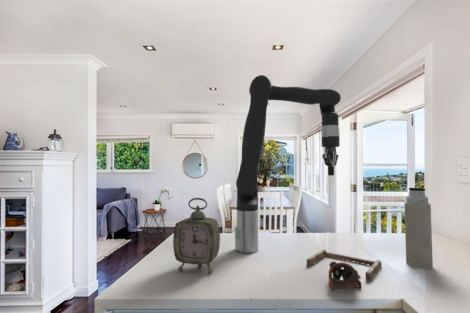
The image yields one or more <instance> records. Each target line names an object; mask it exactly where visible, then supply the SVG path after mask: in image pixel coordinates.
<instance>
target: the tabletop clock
mask: <svg viewBox="0 0 470 313" xmlns="http://www.w3.org/2000/svg"><path fill="white" fill-rule="evenodd" d="M196 200H197V201H199V200H200V201H203V203H205V206H203V207H200V206H199V205H196V207H193V206H191V205H190V204H191V202H193V201H196ZM188 207H189V208H190V209H191V210H193V211H192V212H191V214H190V215H189V217H187V218H184V219H183V220H180V221H178V222H176V223H175V226H174V229H173V241H172V242H173V243H172V244H173V254H174V258H175V260H176V261H177V262H179V263H181V265H180V266H179V267H178V268H177V270H178V271H179V272H182V271H183V269H184V266H185V264H188V265H197V268H198V269H201V268H203V265H206V266H207V268H208V269H207V273H208V274H209V275H211V274H213V269H212V268H211V265H210V264H211V262H213V260H214V259H215V258H217V257H218V254H219V252H220V243H221V232H220V225H219V222H218V220H217V219H214V218H212V217H206V215H205V213H204V212H203V211H202V210H205V209H206V208H207V207H208V202H207V200H206V199H204V198H202V197H193V198H191V199H189V201H188ZM194 210H195V211H194Z"/></svg>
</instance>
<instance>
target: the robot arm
mask: <svg viewBox="0 0 470 313" xmlns="http://www.w3.org/2000/svg"><path fill="white" fill-rule="evenodd" d="M271 82H272V81H271V80H270V79H269V77H268V76H266V75H265V74H264V75H263V74H260V75H257V76H255V77H254V78H253V79H252V80H251V83H250V84H249V88H248V91H249V96H250V102H249V108H248V112H247V115H246V119H245V123H244V128H243V134H242V142H241V161H240V166H239V172H238V175H237V178H236V182H235V185H236V226H235V227H234V231H235V232H234V242H235V243H234V249H235V250H236V251H237V252H238V253H244V254H251V253H256V252H258V251H259V197H258V196H259V195H258V194H259V186H258V185H259V183H258V182H259V181H258V171H259V163H260V157H261V156H262V151H263V146H264V141H265V136H266V134H265V133H266V125H267V124H266V123H267V109H268V108H267V107H268V104H269V101H284V102H289V103H291V102H292V103H297V104H303V105H304V104H305V105H309V106H310V105H312V106H313V105H316V104H317V105H319V111H320V115H321V132H320V134H321V147H322V148H324V153H322V157H323V158H322V159H323V161H324V165H325V166H327V176H334V175H335V166H337V164H338V159H339V154H337V148H339V147H340V146H341V144H340V141H341V140H340V125H339V124H340V123H339V114H338V113H337V112H336V110H335V109H336V108H335V107H336V105H338V104H339V103H340V102H341V99H342V96H341V94H340V92H339V91H338V90H336V89H333V88H331V89H330V88H311V87H305V86H276V85H273V84H272V83H271Z"/></svg>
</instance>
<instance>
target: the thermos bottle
mask: <svg viewBox="0 0 470 313" xmlns="http://www.w3.org/2000/svg"><path fill="white" fill-rule="evenodd" d="M408 190H409V191H408V195H407V196H406V199H405V200H406V201H405V202H404V203H403V204H404V227H405V229H404V233H405V262H406V263H405V264H406V265H408V266H409V267H412V268H414V267H415V268H414V269H421V270H431V269H433V268H434V265H433V264H434V259H433V234H432V232H433V231H432V205H431V203H429V200H430V199H429V197H428V196H426V192H425V191H426V188H424V187H409V188H408Z"/></svg>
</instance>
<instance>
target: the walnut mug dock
mask: <svg viewBox="0 0 470 313" xmlns="http://www.w3.org/2000/svg"><path fill="white" fill-rule="evenodd" d="M326 257H327V258H332V259H336V258H337V259H336V260H341V259H344V260H343V261H346V260H349V261H348V262H350V261H355V262H359V263H358V264H360V263H364V264H363V265H365V264H369V265H372V266H369V265H368V266H369V268H368V269H367V270H366V271H365V281H366V282H369V281H370V282H371V281H372V280H373V278H374V277H375V276H376V275H377V274H378V272H379V271H380V270H381V268H382V267H381V266H382V265H383V263H382V261H381V260H380V259H377V260H375V261H374V260H370V259H364V258H360V257H355V256H350V255H345V254H341V253H340V254H339V253H336V252H335V253H334V252H330V251H327V250H326V249H322V250H320V251H318V252H317V253H315V254H313V255H311V256H309V257H308V258H306V267H308V268H311V267H313V266H314V265H315V264H317V263H318V262H320V261H322V260H323V259H325V258H326ZM355 262H354V263H355ZM379 269H380V270H379ZM378 270H379V271H378ZM377 271H378V272H377ZM375 274H376V275H375ZM374 275H375V276H374ZM371 279H372V280H371Z"/></svg>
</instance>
